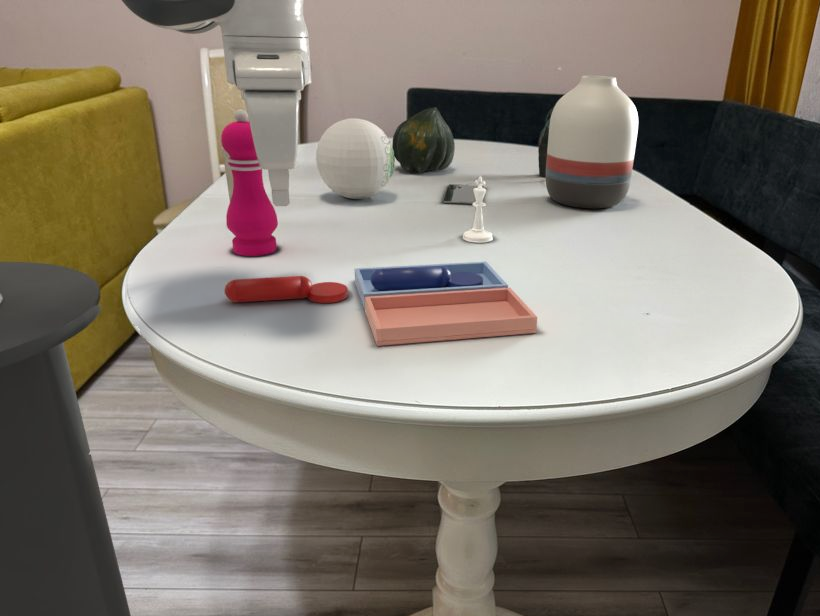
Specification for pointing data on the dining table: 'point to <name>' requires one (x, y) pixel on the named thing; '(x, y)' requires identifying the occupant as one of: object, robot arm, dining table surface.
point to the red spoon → (284, 289)
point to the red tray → (448, 316)
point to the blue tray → (480, 268)
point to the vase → (591, 145)
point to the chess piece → (478, 218)
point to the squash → (424, 142)
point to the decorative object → (355, 158)
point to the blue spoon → (422, 278)
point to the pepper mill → (247, 193)
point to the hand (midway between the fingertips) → (280, 195)
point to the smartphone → (460, 194)
